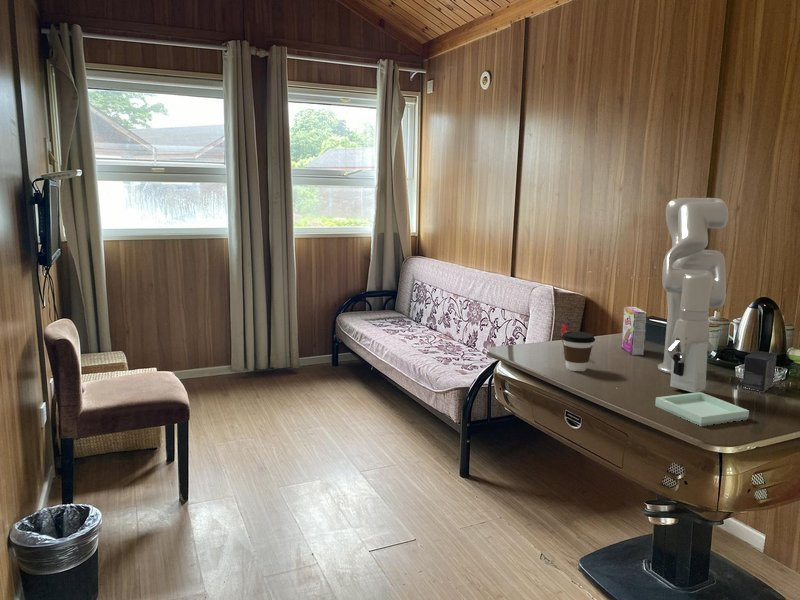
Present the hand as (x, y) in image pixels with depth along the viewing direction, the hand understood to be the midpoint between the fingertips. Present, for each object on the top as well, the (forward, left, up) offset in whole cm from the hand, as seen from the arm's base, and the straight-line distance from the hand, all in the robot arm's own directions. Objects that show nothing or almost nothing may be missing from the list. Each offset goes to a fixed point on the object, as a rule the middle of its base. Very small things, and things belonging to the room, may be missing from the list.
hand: (687, 373), depth 180 cm
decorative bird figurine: (+7, -48, -6) cm, 49 cm away
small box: (-25, +3, -6) cm, 26 cm away
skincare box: (0, 0, -5) cm, 5 cm away
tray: (+10, +16, -6) cm, 20 cm away
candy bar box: (-18, -44, -6) cm, 48 cm away
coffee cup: (+17, -30, -6) cm, 36 cm away
